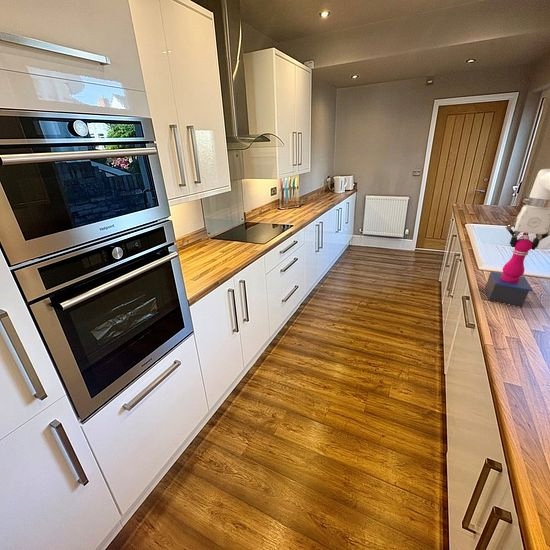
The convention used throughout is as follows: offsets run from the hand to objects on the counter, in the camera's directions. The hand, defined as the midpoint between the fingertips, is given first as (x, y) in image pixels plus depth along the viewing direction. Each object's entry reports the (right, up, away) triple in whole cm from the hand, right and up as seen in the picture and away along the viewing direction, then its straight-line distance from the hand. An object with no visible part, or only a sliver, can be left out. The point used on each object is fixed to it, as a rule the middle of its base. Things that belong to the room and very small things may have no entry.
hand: (522, 247), depth 118 cm
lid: (0, -14, +7) cm, 16 cm away
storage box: (0, -21, +10) cm, 24 cm away
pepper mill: (0, -14, +6) cm, 15 cm away
